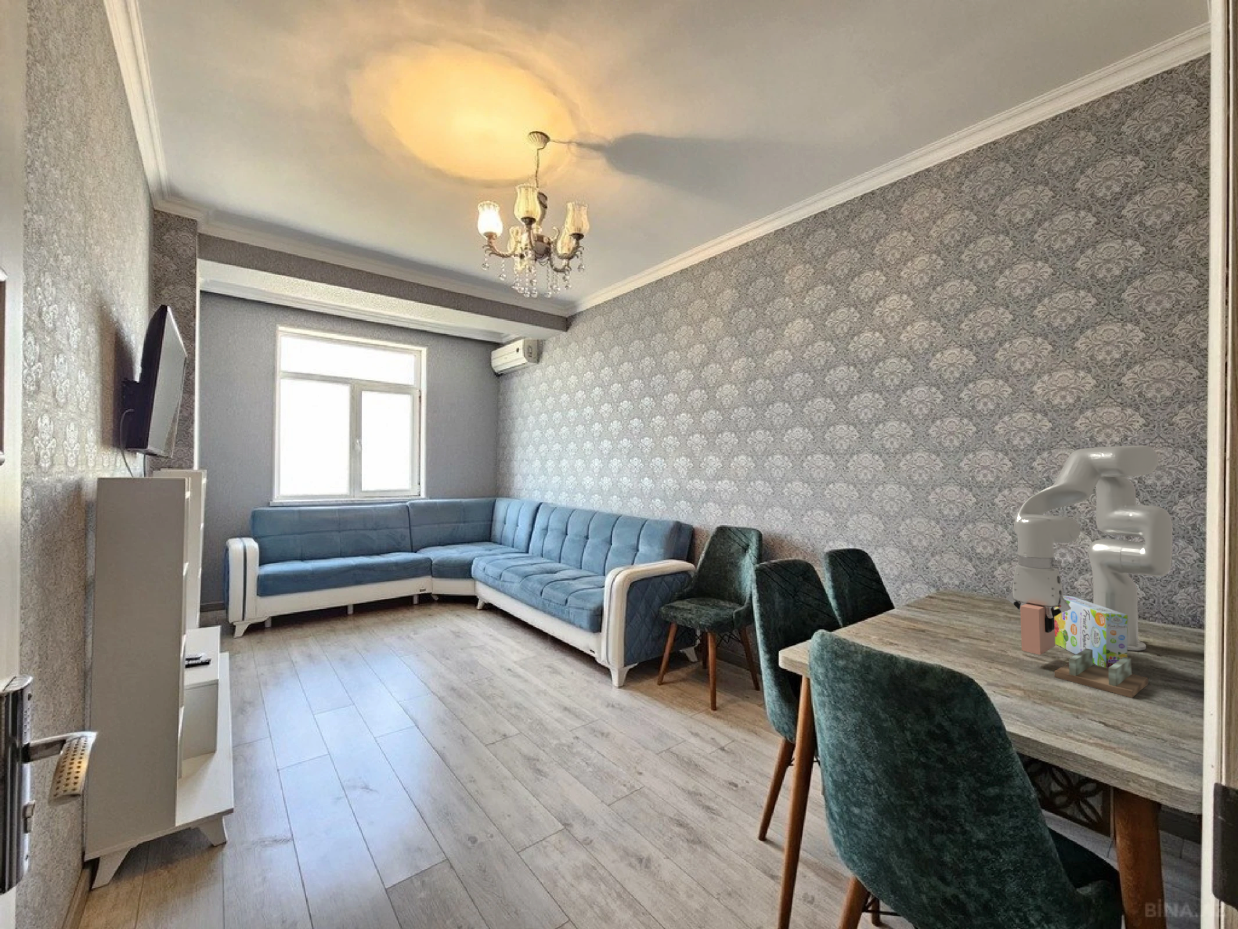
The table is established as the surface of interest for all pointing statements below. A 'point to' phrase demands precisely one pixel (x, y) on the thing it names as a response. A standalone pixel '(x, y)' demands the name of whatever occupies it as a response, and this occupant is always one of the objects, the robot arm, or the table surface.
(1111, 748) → the table surface
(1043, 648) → the tall pink block
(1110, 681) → the shelf board
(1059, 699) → the table surface
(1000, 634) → the table surface
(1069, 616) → the snack box
